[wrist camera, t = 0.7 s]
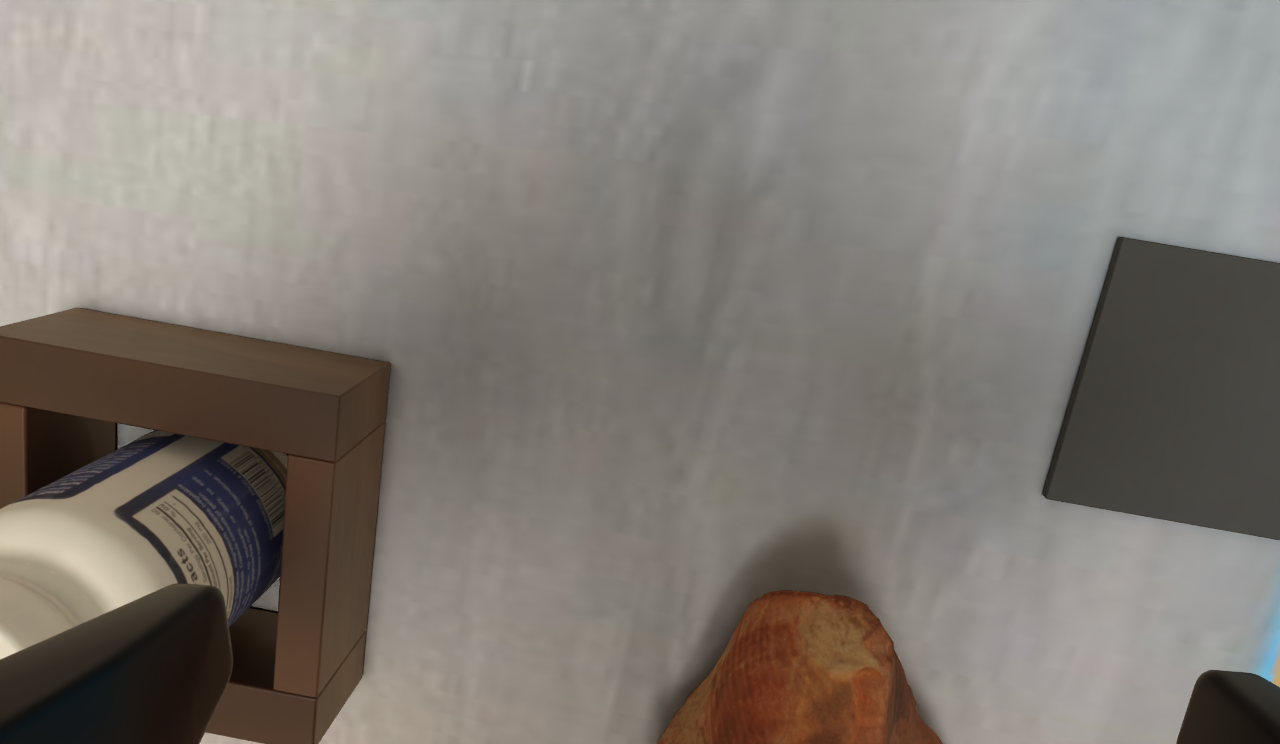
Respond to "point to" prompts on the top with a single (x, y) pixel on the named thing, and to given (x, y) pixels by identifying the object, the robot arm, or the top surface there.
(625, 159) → the top surface
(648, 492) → the top surface
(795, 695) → the fossil
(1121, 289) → the mat
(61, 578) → the pill bottle
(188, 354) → the holder
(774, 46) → the top surface
